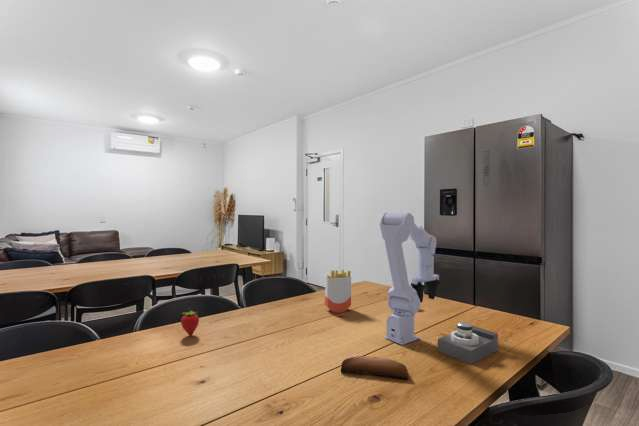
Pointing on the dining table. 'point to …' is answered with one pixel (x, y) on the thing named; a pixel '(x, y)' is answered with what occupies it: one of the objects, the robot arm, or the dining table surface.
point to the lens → (464, 330)
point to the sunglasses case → (374, 366)
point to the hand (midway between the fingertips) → (425, 300)
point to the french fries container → (338, 291)
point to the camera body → (469, 345)
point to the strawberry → (190, 322)
